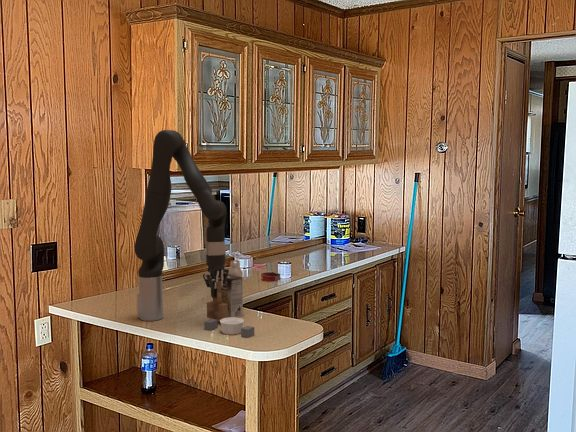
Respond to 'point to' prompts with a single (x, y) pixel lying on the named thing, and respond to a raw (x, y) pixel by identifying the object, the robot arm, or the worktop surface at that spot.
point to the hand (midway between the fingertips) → (216, 296)
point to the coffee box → (233, 295)
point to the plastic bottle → (235, 270)
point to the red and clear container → (270, 276)
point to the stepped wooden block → (217, 306)
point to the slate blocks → (245, 331)
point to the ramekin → (231, 325)
